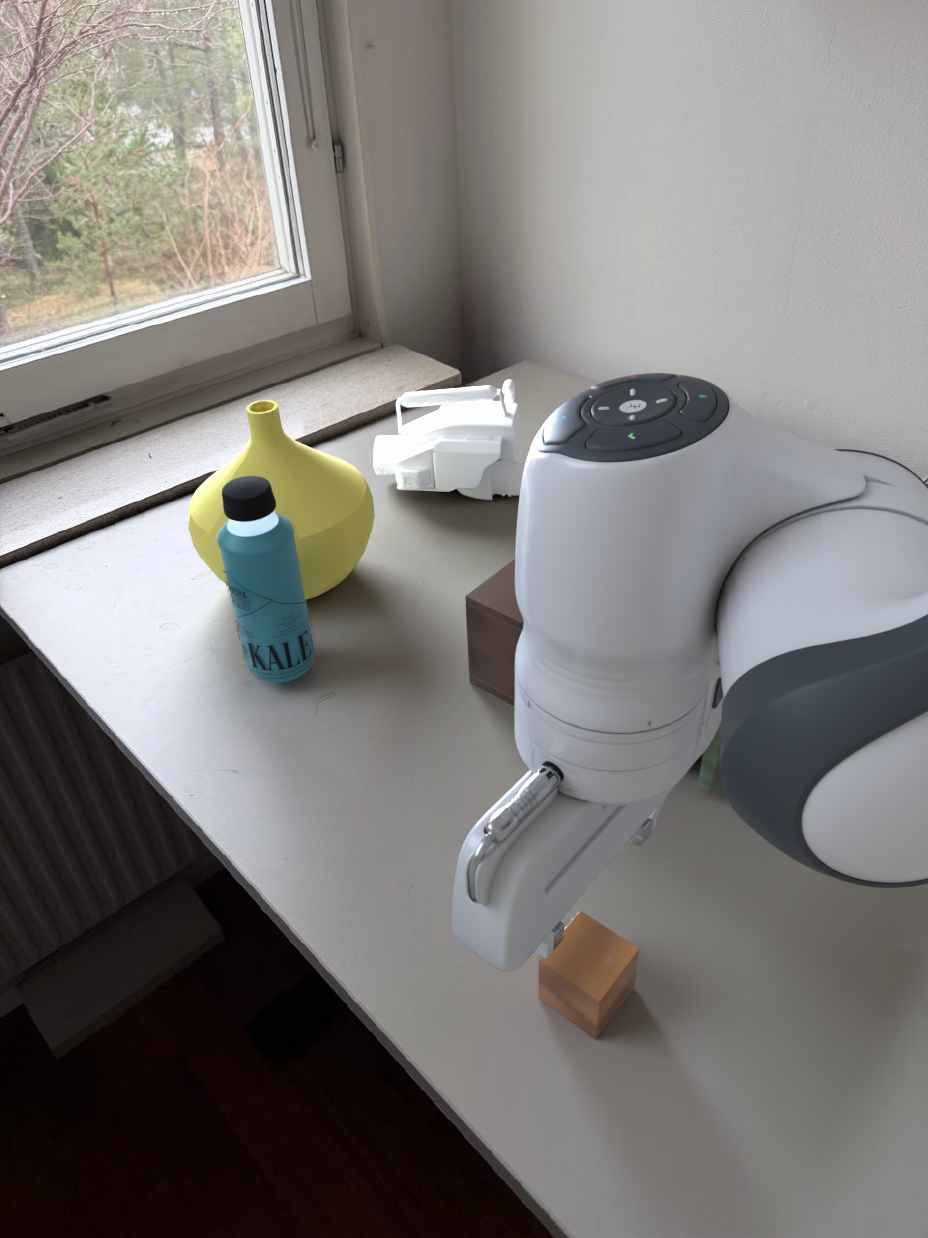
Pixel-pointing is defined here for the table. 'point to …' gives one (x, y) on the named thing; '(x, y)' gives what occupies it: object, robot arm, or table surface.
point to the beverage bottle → (265, 582)
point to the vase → (292, 502)
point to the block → (588, 974)
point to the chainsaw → (456, 443)
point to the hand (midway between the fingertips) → (591, 885)
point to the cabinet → (494, 633)
